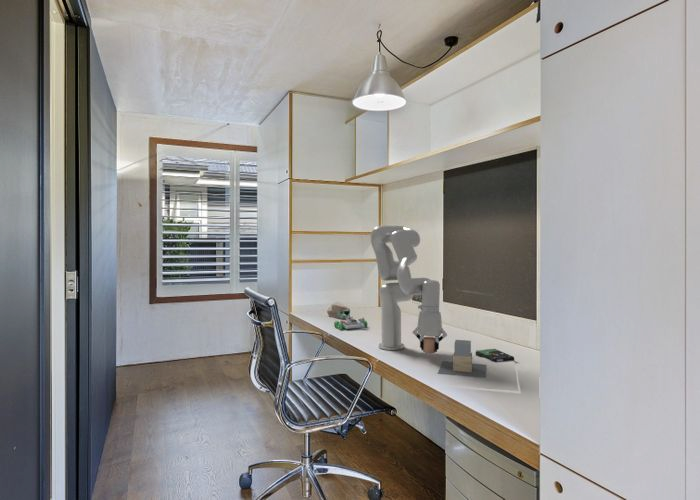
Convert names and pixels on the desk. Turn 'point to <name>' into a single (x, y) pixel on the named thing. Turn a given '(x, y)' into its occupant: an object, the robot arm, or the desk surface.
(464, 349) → the slate grey block
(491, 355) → the disk drive
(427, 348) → the brown egg shape
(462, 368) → the pale oak block
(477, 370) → the charcoal mat
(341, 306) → the decorative stone
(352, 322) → the robot kit
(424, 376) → the desk surface
